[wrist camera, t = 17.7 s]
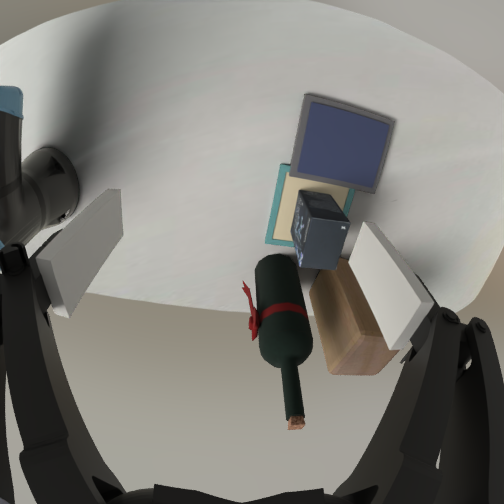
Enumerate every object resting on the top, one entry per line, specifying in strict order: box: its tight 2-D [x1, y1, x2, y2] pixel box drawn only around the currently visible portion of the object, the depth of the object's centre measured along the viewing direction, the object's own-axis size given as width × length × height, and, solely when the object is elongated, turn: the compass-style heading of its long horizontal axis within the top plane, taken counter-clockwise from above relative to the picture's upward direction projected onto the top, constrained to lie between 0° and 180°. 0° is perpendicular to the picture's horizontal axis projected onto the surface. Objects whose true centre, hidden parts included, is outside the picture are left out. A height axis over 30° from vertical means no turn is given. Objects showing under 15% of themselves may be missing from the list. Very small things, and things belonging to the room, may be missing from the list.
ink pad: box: [289, 94, 395, 194], centre depth 38 cm, size 15×13×1 cm
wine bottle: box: [242, 254, 313, 430], centre depth 38 cm, size 8×10×30 cm
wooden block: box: [309, 258, 399, 375], centre depth 44 cm, size 10×10×20 cm
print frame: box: [265, 164, 355, 247], centre depth 45 cm, size 13×14×1 cm
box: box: [290, 190, 351, 270], centre depth 40 cm, size 8×6×11 cm
